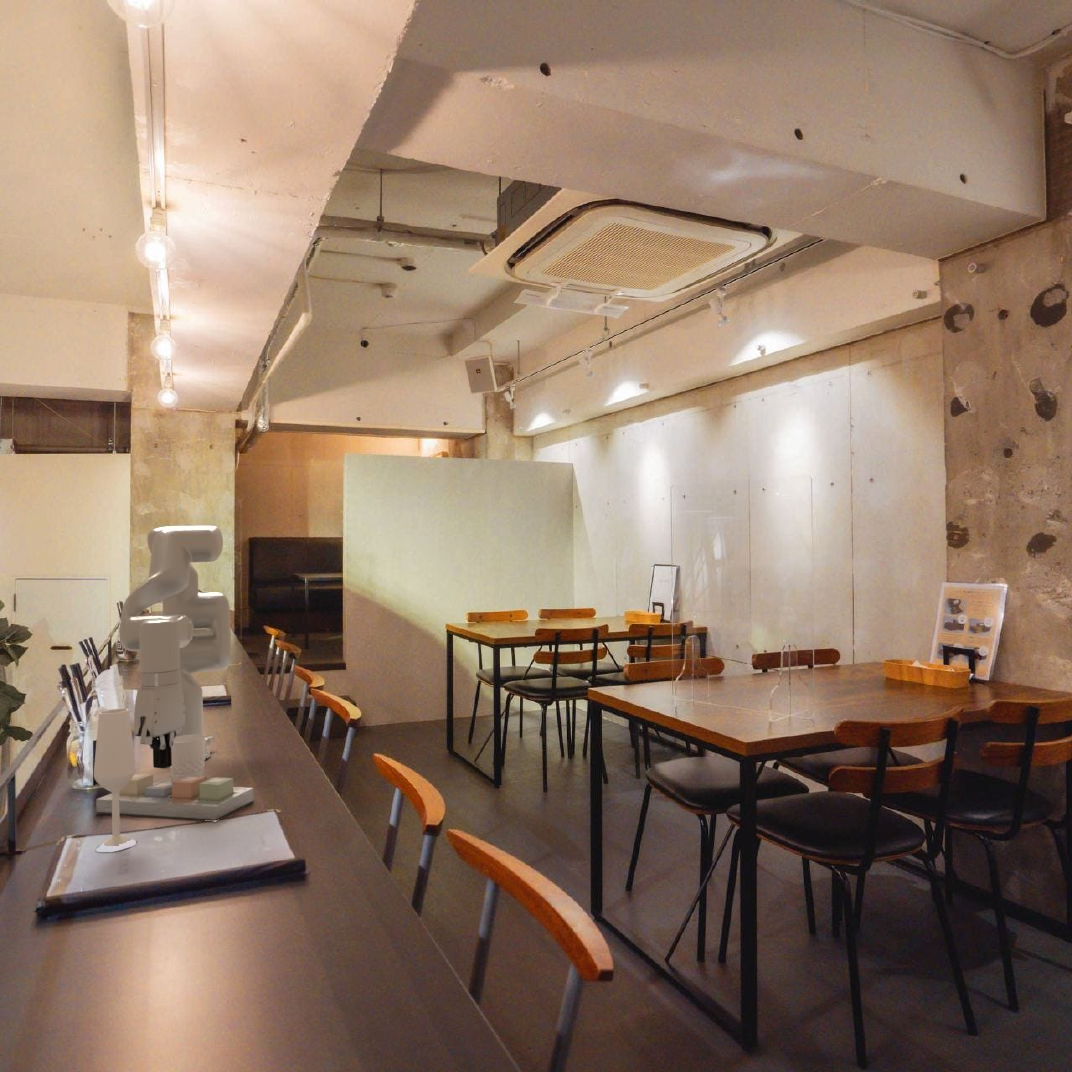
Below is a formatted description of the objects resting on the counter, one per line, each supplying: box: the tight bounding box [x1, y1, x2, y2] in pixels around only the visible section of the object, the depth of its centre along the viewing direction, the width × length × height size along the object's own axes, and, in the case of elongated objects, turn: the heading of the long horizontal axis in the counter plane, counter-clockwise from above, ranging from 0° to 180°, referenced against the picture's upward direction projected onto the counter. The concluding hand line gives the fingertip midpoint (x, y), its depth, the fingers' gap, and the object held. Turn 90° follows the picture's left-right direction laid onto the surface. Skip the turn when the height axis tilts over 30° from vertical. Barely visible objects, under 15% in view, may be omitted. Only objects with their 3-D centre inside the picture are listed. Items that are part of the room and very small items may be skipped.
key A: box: [172, 776, 207, 799], centre depth 158 cm, size 4×4×4 cm
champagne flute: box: [93, 708, 137, 846], centre depth 139 cm, size 7×7×24 cm
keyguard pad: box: [95, 782, 254, 822], centre depth 159 cm, size 12×28×3 cm, turn 75°
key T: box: [145, 781, 172, 798], centre depth 160 cm, size 4×4×4 cm
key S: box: [119, 772, 154, 796], centre depth 161 cm, size 4×4×4 cm
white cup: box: [169, 734, 206, 783], centre depth 178 cm, size 8×8×10 cm
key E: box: [199, 776, 234, 801], centre depth 156 cm, size 4×4×4 cm
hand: (162, 766), depth 160 cm, fingers closed
